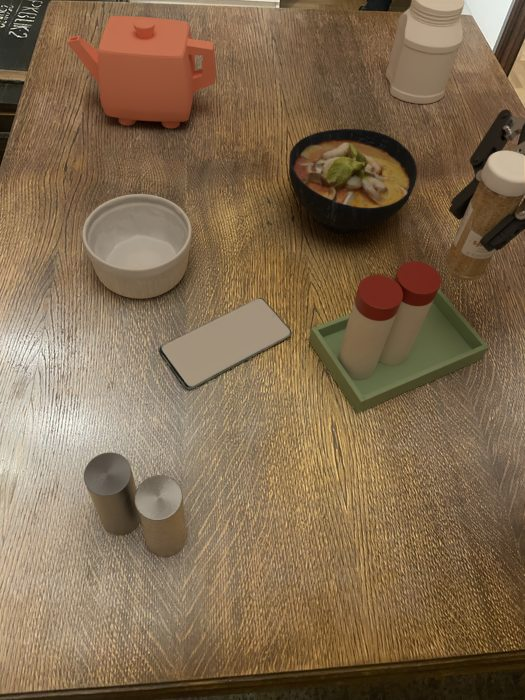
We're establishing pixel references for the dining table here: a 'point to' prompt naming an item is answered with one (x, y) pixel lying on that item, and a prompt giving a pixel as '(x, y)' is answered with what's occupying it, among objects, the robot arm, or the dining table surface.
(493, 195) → the sprinkles bottle
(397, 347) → the spice bottle
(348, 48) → the dining table surface
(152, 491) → the grey tin
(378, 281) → the spice bottle
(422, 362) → the tray
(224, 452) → the dining table surface
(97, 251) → the ramekin
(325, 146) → the bowl
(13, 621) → the dining table surface
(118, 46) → the teapot
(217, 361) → the smartphone
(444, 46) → the jar
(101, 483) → the grey tin
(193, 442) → the dining table surface
